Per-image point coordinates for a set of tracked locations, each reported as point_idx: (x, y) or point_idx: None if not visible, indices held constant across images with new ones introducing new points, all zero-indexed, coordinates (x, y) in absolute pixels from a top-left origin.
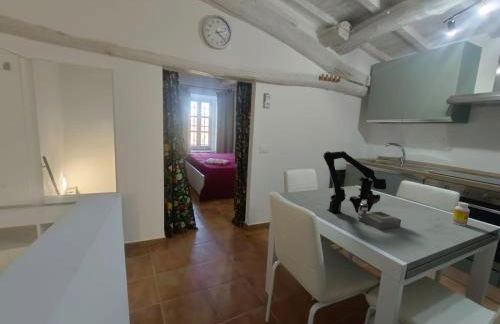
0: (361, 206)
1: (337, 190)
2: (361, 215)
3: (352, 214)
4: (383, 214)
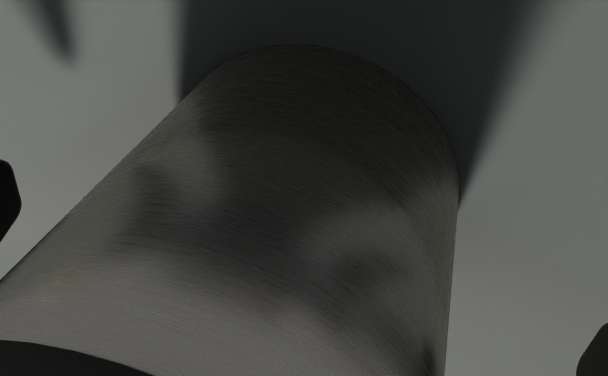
0: None
1: None
2: (447, 163)
3: None
4: None
